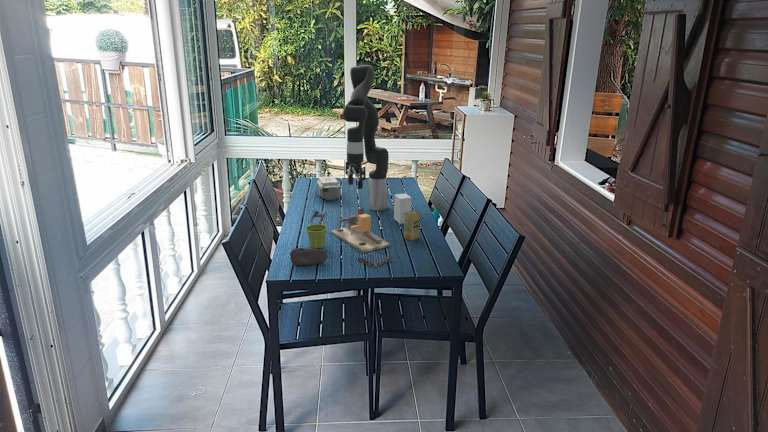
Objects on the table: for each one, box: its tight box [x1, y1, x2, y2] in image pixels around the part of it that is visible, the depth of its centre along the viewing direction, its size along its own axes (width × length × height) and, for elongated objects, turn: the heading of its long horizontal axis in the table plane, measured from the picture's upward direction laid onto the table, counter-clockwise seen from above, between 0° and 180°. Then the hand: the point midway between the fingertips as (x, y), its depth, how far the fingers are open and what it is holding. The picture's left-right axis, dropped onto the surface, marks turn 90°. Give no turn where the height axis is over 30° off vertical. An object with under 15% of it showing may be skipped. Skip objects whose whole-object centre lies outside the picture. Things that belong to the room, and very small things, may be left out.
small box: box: [393, 193, 413, 225], centre depth 254 cm, size 8×6×13 cm
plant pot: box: [305, 223, 328, 249], centre depth 222 cm, size 9×9×9 cm
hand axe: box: [345, 207, 364, 227], centre depth 260 cm, size 27×2×10 cm
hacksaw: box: [308, 210, 326, 225], centre depth 256 cm, size 24×10×2 cm, turn 177°
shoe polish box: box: [403, 210, 421, 241], centre depth 232 cm, size 5×5×12 cm
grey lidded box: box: [316, 175, 341, 201], centre depth 294 cm, size 12×28×10 cm, turn 14°
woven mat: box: [357, 250, 392, 268], centre depth 210 cm, size 10×11×2 cm
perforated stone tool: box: [289, 247, 329, 266], centre depth 205 cm, size 15×5×7 cm, turn 100°
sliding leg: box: [350, 213, 372, 235], centre depth 231 cm, size 9×4×8 cm, turn 124°
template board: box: [331, 214, 391, 254], centre depth 230 cm, size 14×28×7 cm, turn 34°
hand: (355, 186), depth 232 cm, fingers open, 8 cm apart
